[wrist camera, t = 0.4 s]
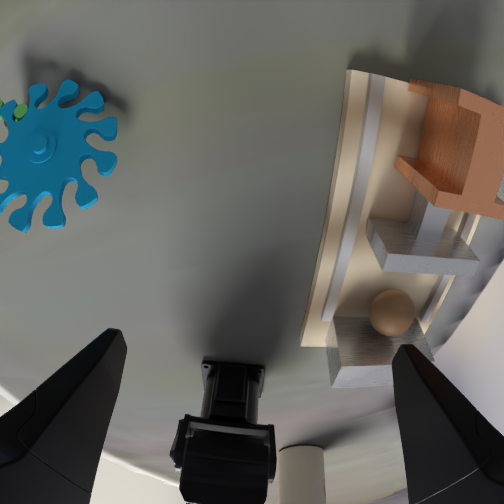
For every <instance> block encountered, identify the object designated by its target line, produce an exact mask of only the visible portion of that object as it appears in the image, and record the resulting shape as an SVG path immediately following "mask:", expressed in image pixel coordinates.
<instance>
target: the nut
mask: <svg viewBox="0 0 504 504" xmlns="http://www.w3.org/2000/svg"><path fill="white" fill-rule="evenodd" d="M414 316H415V307H414V303H413V301H412V299H411V298H410V296H409V295H408V294H407V293H405V292H404V291H402V290H399V289H388V290H385V291H382V292H381V293H379V294H378V295H377V296H376V297H375V298H374V300H373V301H372V303H371V306H370V311H369V317H370V321H371V324H372V326H373V327H374V329H375V330H376V331H377V332H379V333H380V334H382V335H385V336H397V335H400V334H402V333H404V332H405V331H406V330H407V329H408V328H409V327H410V326H411V324H412V322H413V320H414Z"/></svg>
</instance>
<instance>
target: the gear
mask: <svg viewBox="0 0 504 504" xmlns="http://www.w3.org/2000/svg"><path fill="white" fill-rule="evenodd" d="M78 94H79V85H78V84H77V83H75V82H74V81H71V80H68V79H67V80H65V81H64V82H63V83H62V84H61V86H60V89H59V91H58V93H57V95H56V96H55V98H54V99H53V100H52V101H51V102H50V103H49V104H48V105H46V106H45V107H44V108H42V109H37V108H38V106H39V105H40V104H41V103H42V102H43V101H44V100H45V99H46V98H47V96H48V89H47V86H46V84H36V85H32V86H31V87H30V89H29V96H30V103H29V107H27V105H26V104H20V105H17V103H16V101H15V100H11V101H9V102H7V103H6V104H5V105H4V103H3V101H2V100H1V99H0V120H2V119H4V124H5V126H6V128H7V129H8V132H9V134H8V137H7V139H6V140H5V141H4V142H3V143H0V155H1V156H2V163H1V165H0V179H2V180H7V181H8V182H9V185H8V188H7V190H6V191H5V192H4V193H2V194H0V214H1V213H2V212H3V210H4V208H5V207H6V206H7V204H8V203H9V202H10V201H11V200H13V199H14V198H16V197H18V196H21V195H24V194H26V195H27V202H26V204H25V205H24V206H23V207H22V208H20V209H17V210H15V211H14V212H12V214H11V215H10V217H9V223H10V224H11V225H12V226H13V227H14V228H16V229H18V230H20V231H22V232H24V233H26V232H27V231H28V230H29V229H30V226H31V219H32V214H33V211H34V209H35V207H36V205H37V204H38V203H39V202H40V200H41V199H42V198H43V197H44V196H46V195H52V197H53V201H52V204H51V205H50V207H49V208H48V209H47V210H46V211H45V213H44V215H43V224H44V225H45V226H46V227H49V228H62V227H64V226H65V223H66V217H65V215H64V213H63V209H62V195H63V191H64V188H65V186H66V184H67V183H69V182H71V181H74V182H77V183H78V188H77V192H76V196H75V199H76V202H77V204H78V205H79V207H80V208H81V209H86V208H88V207H90V206H91V205H93V204H94V203H95V202H97V201H98V195H97V192H96V190H95V189H94V188H93V187H92V186H90V185H89V184H88V183H87V182H86V181H85V180H84V179H83V177H82V173H81V164H82V162H83V161H84V160H86V159H89V158H90V159H93V160H95V162H96V165H97V169H98V172H99V173H100V174H101V175H102V176H105V177H108V176H109V175H110V174H111V172H112V171H113V170H114V168H115V166H116V164H117V156H116V155H115V154H114V153H112V152H104V151H99V150H96V149H94V148H93V147H91V146H90V145H89V144H88V143H87V142H86V141H85V139H86V137H87V136H88V135H90V134H92V133H96V134H98V135H99V136H100V137H101V138H102V139H104V140H105V141H113V140H115V138H116V135H117V119H116V118H114V117H108V118H106V119H103V120H101V121H97V122H85V121H80V120H78V117H79V115H81V114H82V113H91V114H98V113H100V112H102V111H103V110H104V101H103V98H102V96H101V94H100V93H99V91H94V92H91V93H90V94H89V95H88V96H87V97H86V98H85V99H84V100H83V101H81V102H80V103H78V104H76V105H74V106H71V107H68V108H60V106H61V105H62V104H63V103H64V102H67V101H70V100H73V99H75V98H76V97H77V96H78Z"/></svg>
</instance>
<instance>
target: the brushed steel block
mask: <svg viewBox="0 0 504 504" xmlns="http://www.w3.org/2000/svg"><path fill="white" fill-rule="evenodd" d="M401 344H413V345H415V346H416V347H417V348H418V349H419V350H420V351H421V352H422V353H423V354H424V355H425V356H426V357H427V358H428V359H429V360H430V361H431V362H432V363H434V362H435V361H434V358H433V355H432V353H431V350H430V348H429V345H428V343H427V340H426V338H425V335H424V333H423V331H422V328H421V326H420V323H419V321H418V319H417V317H414V320H413V322H412V324H411V326H410V327H409V328H408V329H407V330H406V331H405V332H404V333H402V334H400V335H397V336H385V335H382V334H380V333H379V332H377V331H376V330H375V329H374V327H373V326H372V324H371V321H370V317H344V316H333V318H332V321H331V323H330V326H329V329H328V332H327V335H326V338H325V345H326V352H327V359H328V366H329V374H330V382H331V388H351V387H372V386H387V385H393V375H392V360H393V358H394V356H395V354H396V352H397V350H398V348H399V346H400V345H401Z"/></svg>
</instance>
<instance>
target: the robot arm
mask: <svg viewBox="0 0 504 504" xmlns="http://www.w3.org/2000/svg"><path fill="white" fill-rule="evenodd" d="M126 354H127V345H126V342H125V340H124V337H123V334H122V332H121V330H119V329H114V328H108V329H107V330H105V331H104V332H103V333H102V334H100V335H99V336H98V337H97V338H96V339H94V340H93V341H92V342H91V343H90V344H88V345H87V346H86V347H85V348H84V349H82V350H81V351H80V352H79V353H78V354H76V355H75V356H74V357H73V358H72V359H70V360H69V361H68V362H67V363H66V364H64V365H63V366H62V367H61V368H60V369H59V370H57V371H56V372H55V373H54V374H53V375H51V376H50V377H49V378H48V379H47V380H46V381H44V382H43V383H42V384H41V385H40V386H39V387H37V388H36V390H34V391H33V392H32V393H30V394H29V395H28V396H27V397H26V398H25V399H23V400H22V401H21V402H20V403H18V404H17V405H16V406H15V407H13V408H12V409H11V410H9V411H8V412H6V413H5V414H4V415H2V416H1V417H0V504H89V502H90V498H91V493H92V488H93V484H94V480H95V475H96V472H97V467H98V463H99V460H100V456H101V452H102V448H103V444H104V441H105V437H106V434H107V430H108V426H109V423H110V420H111V416H112V413H113V409H114V406H115V403H116V400H117V396H118V393H119V388H120V384H121V378H122V373H123V368H124V364H125V359H126ZM201 369H202V376H203V384H204V390H205V392H204V398H203V404H202V410H201V416H200V417H196V416H191V415H189V414H185V417H184V419H181V420H179V424H178V429H177V433H176V437H175V439H174V442H173V445H172V448H171V450H170V457H171V458H172V460H173V461H174V465H175V472H176V473H181V477H180V485H179V489H180V492H181V494H182V496H183V498H184V501H185V502H186V504H264V503H265V501H266V497H267V488H268V483H272V482H273V480H274V477H275V472H276V461H277V458H276V444H275V432H274V425H272V424H268V425H260V424H257V419H258V398H260V397H261V393H262V386H263V380H264V374H265V367H263V366H258V365H243V364H231V363H219V362H209V361H203V362H202V365H201ZM392 375H393V385H394V397H395V406H396V412H397V418H398V424H399V429H400V435H401V442H402V448H403V455H404V463H405V471H406V479H407V488H408V499H409V504H504V436H503V435H502V434H501V433H500V432H499V431H498V430H496V429H495V428H494V427H493V426H492V425H491V424H490V423H489V422H488V421H487V419H486V418H485V417H484V416H483V415H482V414H481V413H480V412H479V411H477V409H476V408H475V407H474V406H473V405H472V404H471V403H470V402H469V400H468V399H467V398H466V397H465V396H464V395H463V394H462V393H461V392H460V391H459V390H458V389H457V388H456V387H455V386H454V385H453V384H452V383H451V382H450V381H449V380H448V379H447V378H446V377H445V376H444V374H443V373H442V372H441V371H439V369H438V368H437V367H436V366H434V364H433V363H432V362H431V361H430V360H429V359H428V358H427V357H426V356H425V355H424V354H423V353H422V352H421V351H420V350H419V349H418V348H417V347H416V346H415V345H413V344H401V345H400V346H399V348H398V350H397V352H396V354H395V356H394V358H393V360H392ZM191 436H192V437H191Z"/></svg>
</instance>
